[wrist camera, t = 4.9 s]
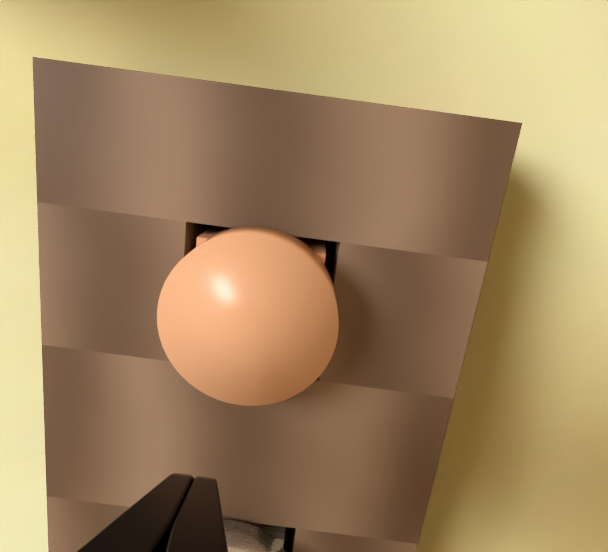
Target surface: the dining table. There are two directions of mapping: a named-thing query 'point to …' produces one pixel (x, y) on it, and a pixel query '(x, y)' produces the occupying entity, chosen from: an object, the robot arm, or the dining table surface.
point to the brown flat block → (274, 214)
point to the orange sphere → (249, 314)
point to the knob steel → (253, 537)
